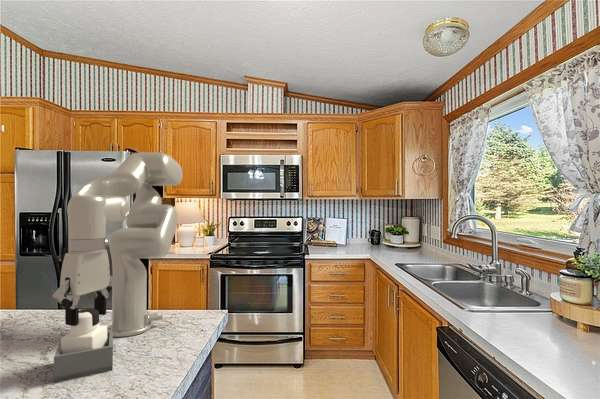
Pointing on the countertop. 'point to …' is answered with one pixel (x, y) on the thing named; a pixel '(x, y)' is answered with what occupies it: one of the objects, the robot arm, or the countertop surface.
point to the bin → (83, 361)
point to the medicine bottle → (85, 333)
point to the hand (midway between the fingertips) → (86, 318)
